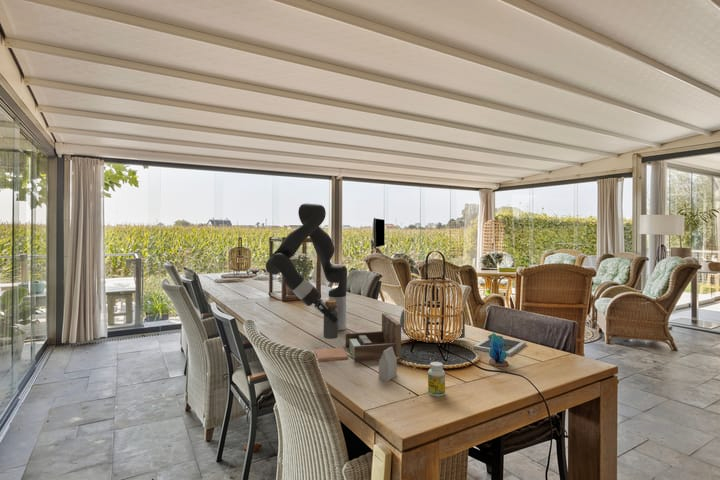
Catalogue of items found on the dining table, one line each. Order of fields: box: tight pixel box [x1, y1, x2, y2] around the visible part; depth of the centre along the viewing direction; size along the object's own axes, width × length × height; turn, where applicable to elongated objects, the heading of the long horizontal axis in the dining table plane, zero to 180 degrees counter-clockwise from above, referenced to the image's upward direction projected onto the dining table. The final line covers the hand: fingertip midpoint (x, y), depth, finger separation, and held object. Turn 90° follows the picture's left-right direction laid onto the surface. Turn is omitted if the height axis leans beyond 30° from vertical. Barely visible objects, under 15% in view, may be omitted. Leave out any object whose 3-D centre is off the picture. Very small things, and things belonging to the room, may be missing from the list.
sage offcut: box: [348, 339, 360, 357], centre depth 167 cm, size 14×3×4 cm, turn 11°
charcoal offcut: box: [358, 335, 372, 345], centre depth 168 cm, size 12×3×6 cm, turn 13°
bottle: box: [323, 299, 339, 340], centre depth 164 cm, size 6×6×15 cm
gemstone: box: [488, 332, 509, 368], centre depth 154 cm, size 7×9×12 cm
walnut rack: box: [344, 312, 402, 363], centre depth 168 cm, size 21×19×14 cm
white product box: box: [378, 347, 398, 382], centre depth 141 cm, size 4×7×10 cm, turn 150°
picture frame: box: [472, 333, 527, 357], centre depth 176 cm, size 16×3×21 cm
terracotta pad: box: [314, 347, 349, 362], centre depth 165 cm, size 12×12×1 cm
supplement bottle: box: [427, 361, 446, 397], centre depth 127 cm, size 5×5×10 cm
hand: (334, 319), depth 165 cm, fingers closed on bottle, 5 cm apart
